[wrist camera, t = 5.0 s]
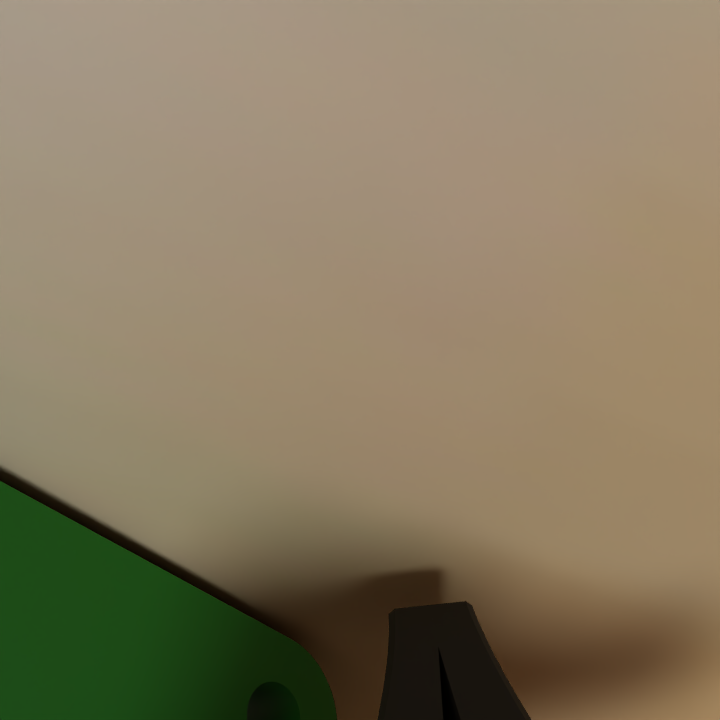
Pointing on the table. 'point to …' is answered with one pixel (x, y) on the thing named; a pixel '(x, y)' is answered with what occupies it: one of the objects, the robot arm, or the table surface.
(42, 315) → the table surface
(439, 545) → the table surface
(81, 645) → the clamp
